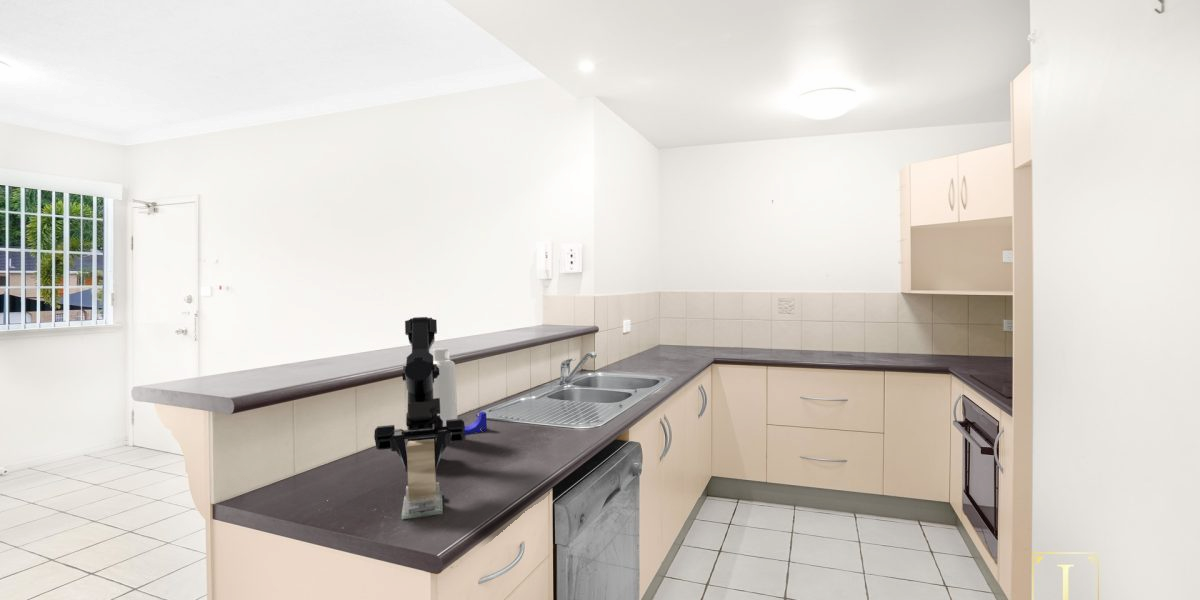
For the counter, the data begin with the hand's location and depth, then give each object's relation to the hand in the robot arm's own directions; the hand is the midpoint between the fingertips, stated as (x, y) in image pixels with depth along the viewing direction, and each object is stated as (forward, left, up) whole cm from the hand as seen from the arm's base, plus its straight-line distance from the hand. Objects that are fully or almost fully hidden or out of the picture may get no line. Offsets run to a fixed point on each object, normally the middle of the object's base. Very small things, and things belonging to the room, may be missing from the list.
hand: (421, 469), depth 117 cm
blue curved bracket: (+2, +61, -9) cm, 61 cm away
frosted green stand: (0, +1, -8) cm, 8 cm away
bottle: (-4, +53, -9) cm, 53 cm away
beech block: (0, +1, -7) cm, 7 cm away
